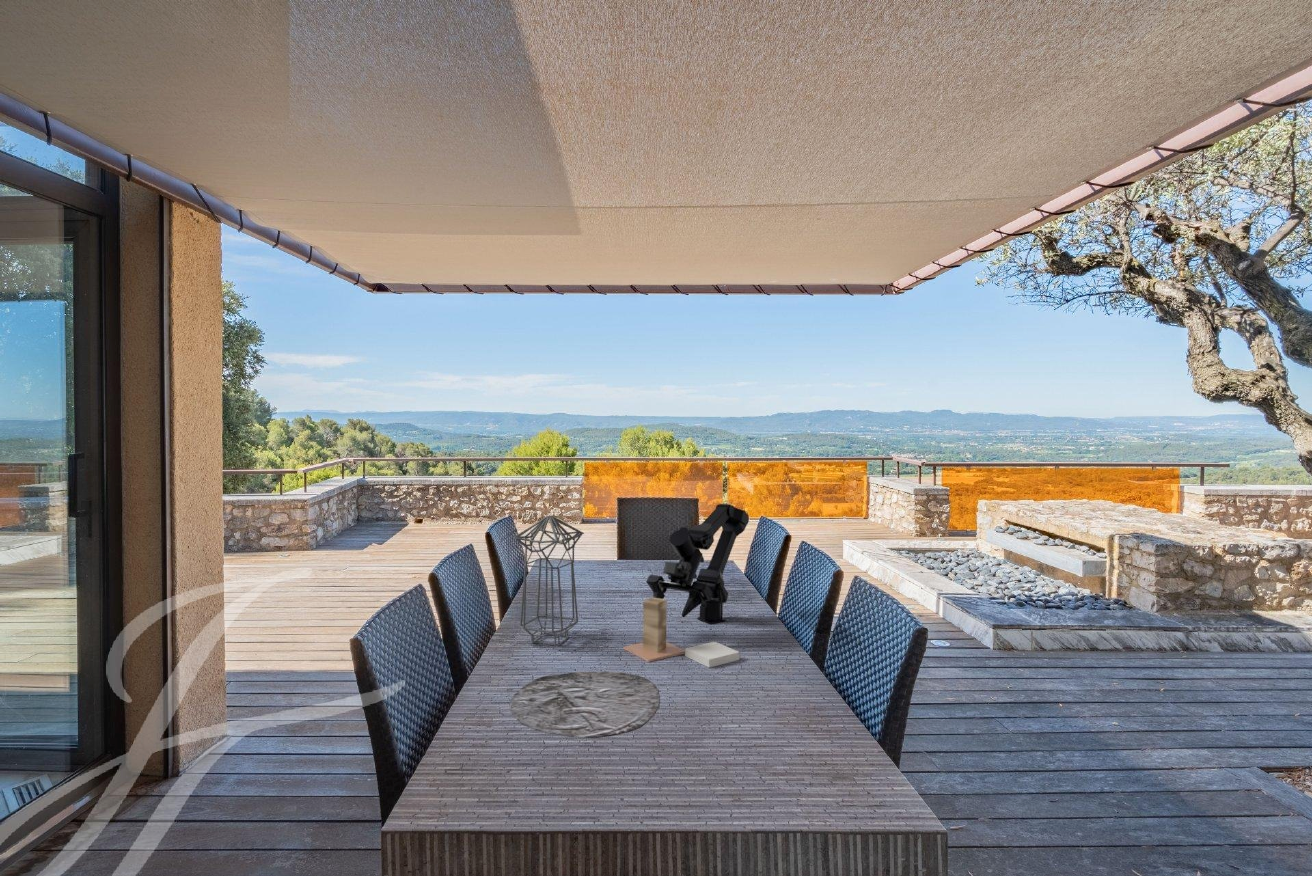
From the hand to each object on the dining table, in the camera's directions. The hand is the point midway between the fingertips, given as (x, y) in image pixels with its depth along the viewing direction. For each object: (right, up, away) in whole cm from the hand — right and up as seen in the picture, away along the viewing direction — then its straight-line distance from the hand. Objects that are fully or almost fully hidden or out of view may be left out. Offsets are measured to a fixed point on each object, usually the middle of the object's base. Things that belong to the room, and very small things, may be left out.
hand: (668, 613), depth 187 cm
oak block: (-4, -8, -6) cm, 10 cm away
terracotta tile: (-4, -8, -6) cm, 11 cm away
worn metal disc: (-18, -10, -38) cm, 43 cm away
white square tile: (+11, -9, -11) cm, 18 cm away
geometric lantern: (-33, -8, +3) cm, 34 cm away
